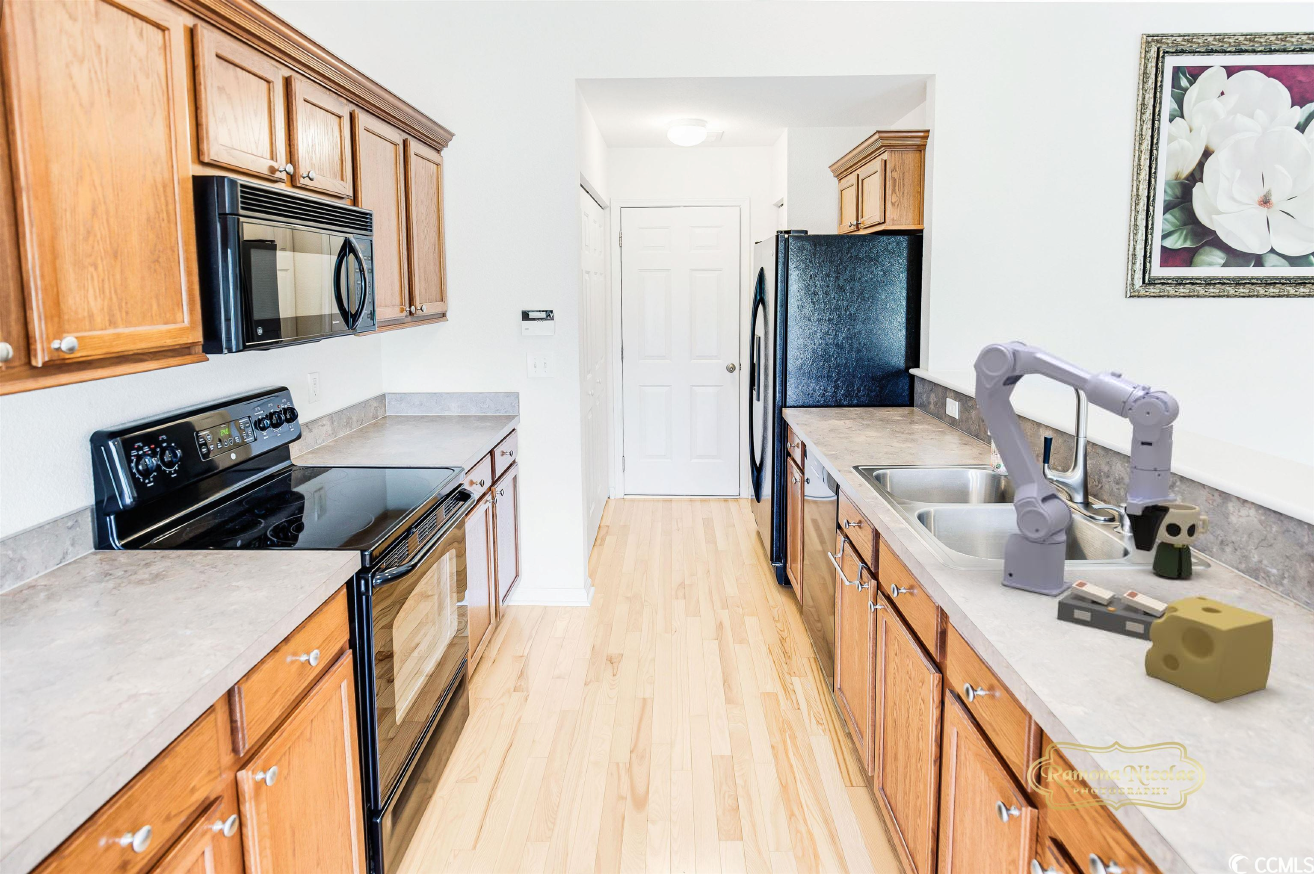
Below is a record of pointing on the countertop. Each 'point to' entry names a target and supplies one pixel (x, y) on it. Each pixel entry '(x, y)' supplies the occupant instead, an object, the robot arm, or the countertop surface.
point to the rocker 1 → (1092, 592)
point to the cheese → (1211, 648)
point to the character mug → (1178, 539)
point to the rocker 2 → (1144, 603)
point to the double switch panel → (1107, 615)
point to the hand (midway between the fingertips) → (1144, 549)
